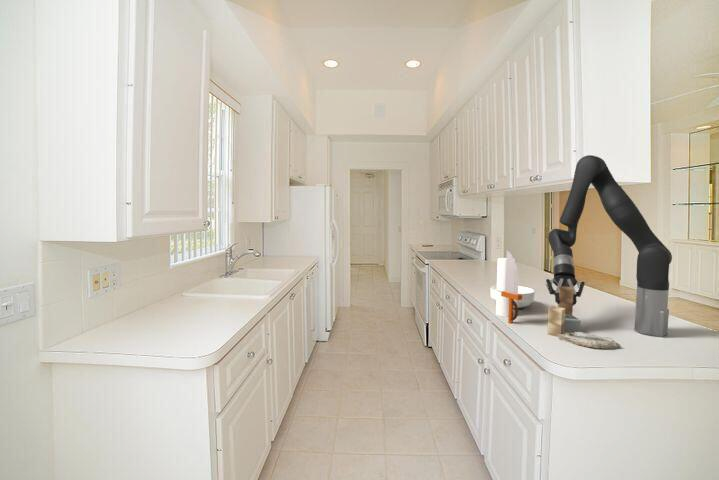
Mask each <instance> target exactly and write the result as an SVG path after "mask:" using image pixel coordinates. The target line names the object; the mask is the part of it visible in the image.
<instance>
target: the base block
mask: <svg viewBox="0 0 719 480" xmlns="http://www.w3.org/2000/svg"><path fill="white" fill-rule="evenodd" d="M581 325H582V320H581V319H579V318H577V317H576V316H574V315H573V314H572V315H567V314H565V328H564V333H573V332H581Z"/></svg>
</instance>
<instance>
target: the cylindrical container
mask: <svg viewBox="0 0 719 480" xmlns="http://www.w3.org/2000/svg"><path fill="white" fill-rule="evenodd" d="M513 259H514V261H515V262H516V259H515V258H513ZM496 265H497V270H496V285H497V293H496V302H495V315H496V316H498V317H506V318H508V315H509V298H507V297H503V296H501V292H502V291H505V276H506V257H499V258H497V264H496Z"/></svg>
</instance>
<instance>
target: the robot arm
mask: <svg viewBox="0 0 719 480" xmlns="http://www.w3.org/2000/svg"><path fill="white" fill-rule="evenodd" d="M590 185H592V187H594V189H595V190H596V192H597V194H598V195H599V198H600V202H601V204H602V207H603V209H604V211H605V212H606V213H607V215H608V217H609V219H611V222H613V223H614V224H615V226H616V227H617V228H619V230H621V232H622V233H623V234H625V235H626V236H627V237H628V238H629V240H630V241H631V242H632V243H633V245H634V247H635V249H636V250H637V251H638V254H637V259H636V283H637V285H636V294H635V295H636V296H635V311H634V326H633V327H634V328H633V329H634V331H635V332H636V333H640V334H642V335H648V336H653V337H661V338H664V337H665V336H667V335H668V331H669V330H668V329H669V317H670V309H669V308H668V304H669V291H670V282H669V274H670V273H669V272H670V264H671V263H672V261H673V255H672V252H671V251H670V250H669V249H668V247H667V246H666V245H665V244H663V242H662V241H661V240H660V239H659V238H658V236H656V234H655V233H654V232H653V231H652V230H651V228H650V226H649V224H648V223H647V220H646V219H645V218H644V215H642V213H641V212H640V211H641V210H639V207H637V205H636V204H635V202H634V201H633V200H632V199H631V197H630V196H629V195H628V194H627V193H626V192H625V190H624V189H623V187H622V186H620V185H619V184H618V182H617V181H616V180H615V178H614V175H612V173H611V171H610V169H609V168H608V166H607V163H606V162H605V160H604V159H602V158H601V157H600V156H597V155H589V154H588V155H585V156H583V157H581V158H580V159H579V160H578V161H577V162H576V166H575V170H574V175H573V181H572V184H571V187H570V192H569V194H568V198H567V199H566V202H565V205H564V207H563V210H562V213H561V215H560V218H559V223H560V224H562V225H564V226H566V227H567V230H565V229H560V228H553V229H552V230H550V232H549V233H548V237H547V238H548V239H547V240H548V243H549V246H550V248H551V250H552V253H553V264H552V265H553V266H552V267H553V278H552V279H550V278H546V279H545V280H546V281H545V286H546V287H547V290H548V292H549V294H550V295H554V299H555V303H556V304H557V305H558V304H559V303H560V300H559V286H565V287H572V288H573V289H574V292H573V307H574V306H576V304H577V302H578V301H577V297H578V298H580V297H581V296H582V293H583V290H584V287H585V283H586V282H585V281H578V280H577V278H576V271H575V262H574V256H573V250H572V248H571V247H572V246H575V244H576V240H577V231H578V225H579V221H580V219H581V217H582V214H583V211H584V208H585V204H586V199H587V197H586V196H587V194H588V190H589V187H590ZM553 285H555V286H556V289H554V287H553ZM576 285H577V288H578V291H576V289H575V286H576Z"/></svg>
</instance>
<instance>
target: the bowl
mask: <svg viewBox="0 0 719 480" xmlns="http://www.w3.org/2000/svg"><path fill="white" fill-rule="evenodd" d="M496 293H497V284H495V285H492V286H491V287H490V298H491V299H492V300H493V302H495V303H496ZM518 294H520V295H522V300H515V299H514V301H515V302H516V304H517V307H518V309H523V308H526V307H528V306H530V305H531V304H532V302H534V300H535V290H534V289H533V288H530V287H525V286H521V285H518ZM513 309H515V307H514V305H513Z"/></svg>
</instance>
